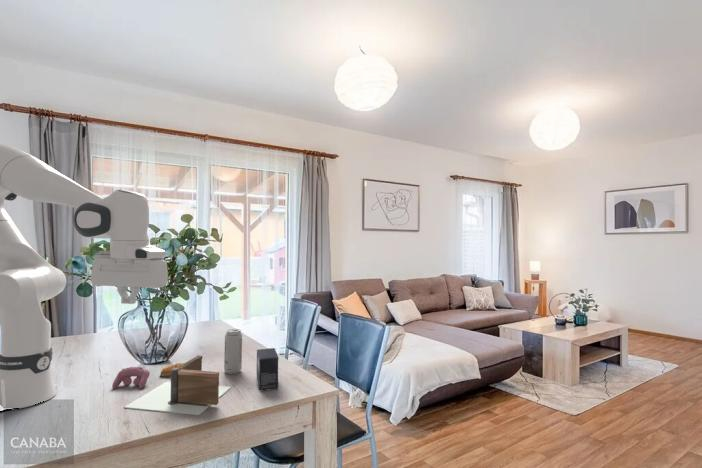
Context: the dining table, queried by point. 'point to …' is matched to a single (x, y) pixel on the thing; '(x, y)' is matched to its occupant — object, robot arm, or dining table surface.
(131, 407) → the card
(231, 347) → the energy drink can
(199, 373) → the fence panel
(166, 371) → the pastry
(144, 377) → the video game controller
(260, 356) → the small box
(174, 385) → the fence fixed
